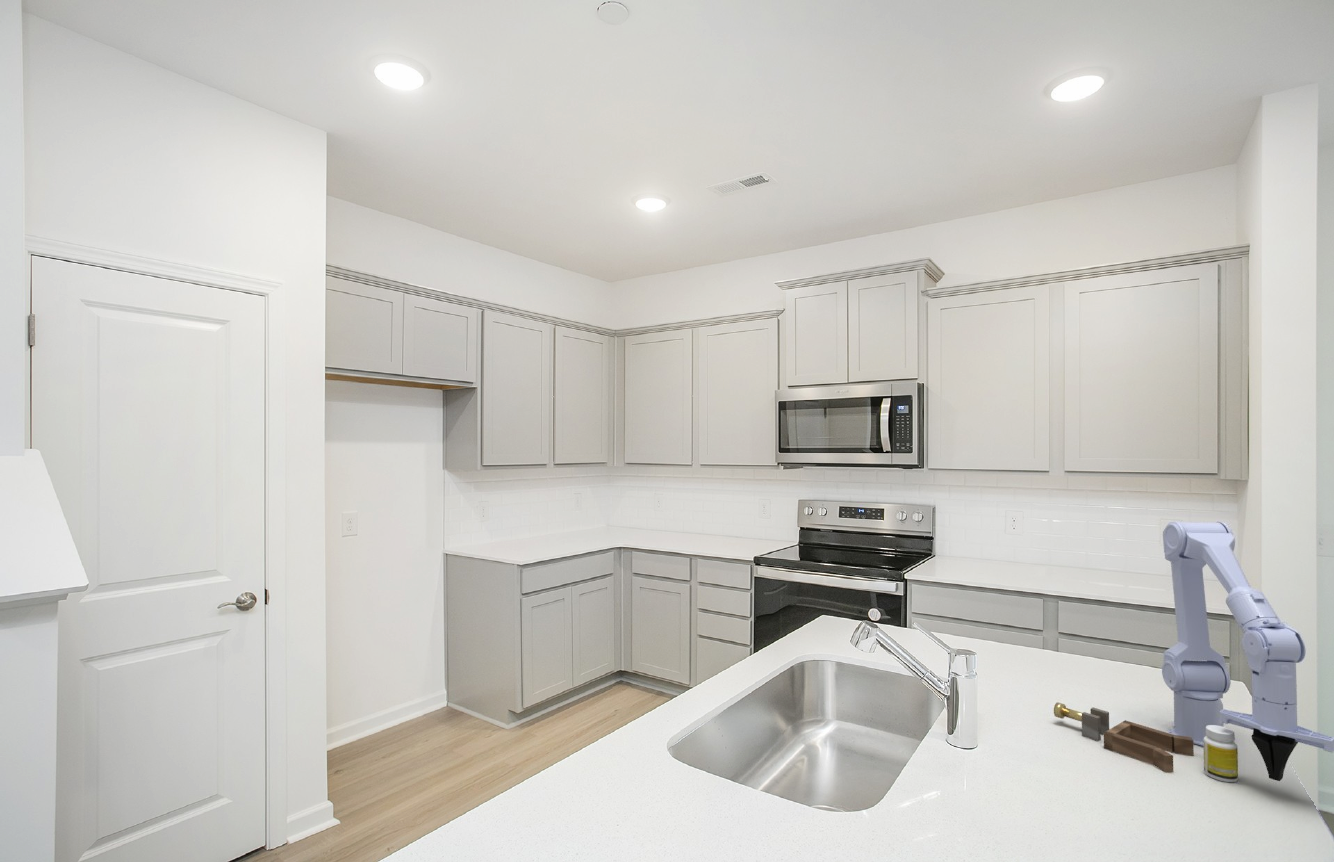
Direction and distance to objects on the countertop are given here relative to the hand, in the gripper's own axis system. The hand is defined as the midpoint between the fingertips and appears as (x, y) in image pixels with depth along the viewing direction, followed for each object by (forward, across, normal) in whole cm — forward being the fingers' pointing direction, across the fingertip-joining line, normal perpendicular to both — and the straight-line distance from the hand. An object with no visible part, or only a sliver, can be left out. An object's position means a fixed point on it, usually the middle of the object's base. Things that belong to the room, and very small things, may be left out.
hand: (1275, 778), depth 114 cm
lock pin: (+1, -32, 0) cm, 32 cm away
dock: (+3, -21, 0) cm, 22 cm away
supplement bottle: (+3, -8, 0) cm, 8 cm away
